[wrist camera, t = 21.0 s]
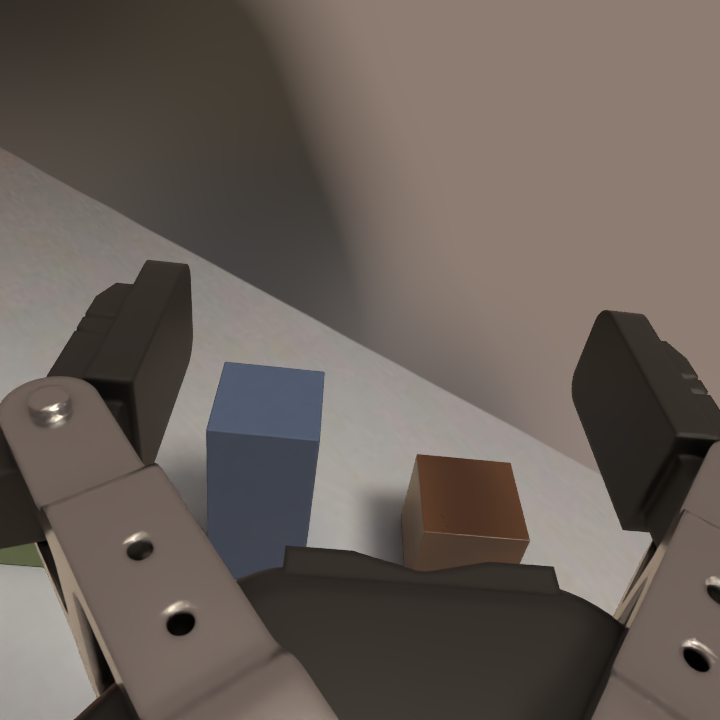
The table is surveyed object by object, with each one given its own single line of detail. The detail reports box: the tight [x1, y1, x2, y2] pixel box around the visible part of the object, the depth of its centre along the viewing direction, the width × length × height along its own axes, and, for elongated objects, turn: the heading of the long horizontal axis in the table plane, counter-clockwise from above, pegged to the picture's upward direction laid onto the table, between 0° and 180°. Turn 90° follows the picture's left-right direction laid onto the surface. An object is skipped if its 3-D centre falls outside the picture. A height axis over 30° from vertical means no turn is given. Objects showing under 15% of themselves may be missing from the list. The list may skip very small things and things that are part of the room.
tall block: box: [206, 362, 325, 579], centre depth 31 cm, size 5×5×10 cm
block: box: [401, 454, 530, 572], centre depth 34 cm, size 5×5×5 cm
